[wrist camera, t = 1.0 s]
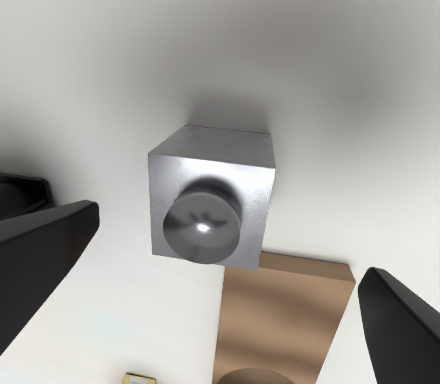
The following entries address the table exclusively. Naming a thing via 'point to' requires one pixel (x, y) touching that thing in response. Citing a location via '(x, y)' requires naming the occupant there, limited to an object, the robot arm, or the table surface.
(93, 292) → the table surface
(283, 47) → the table surface
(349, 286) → the brown flat block
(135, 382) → the candy box
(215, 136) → the metal cube with knob
